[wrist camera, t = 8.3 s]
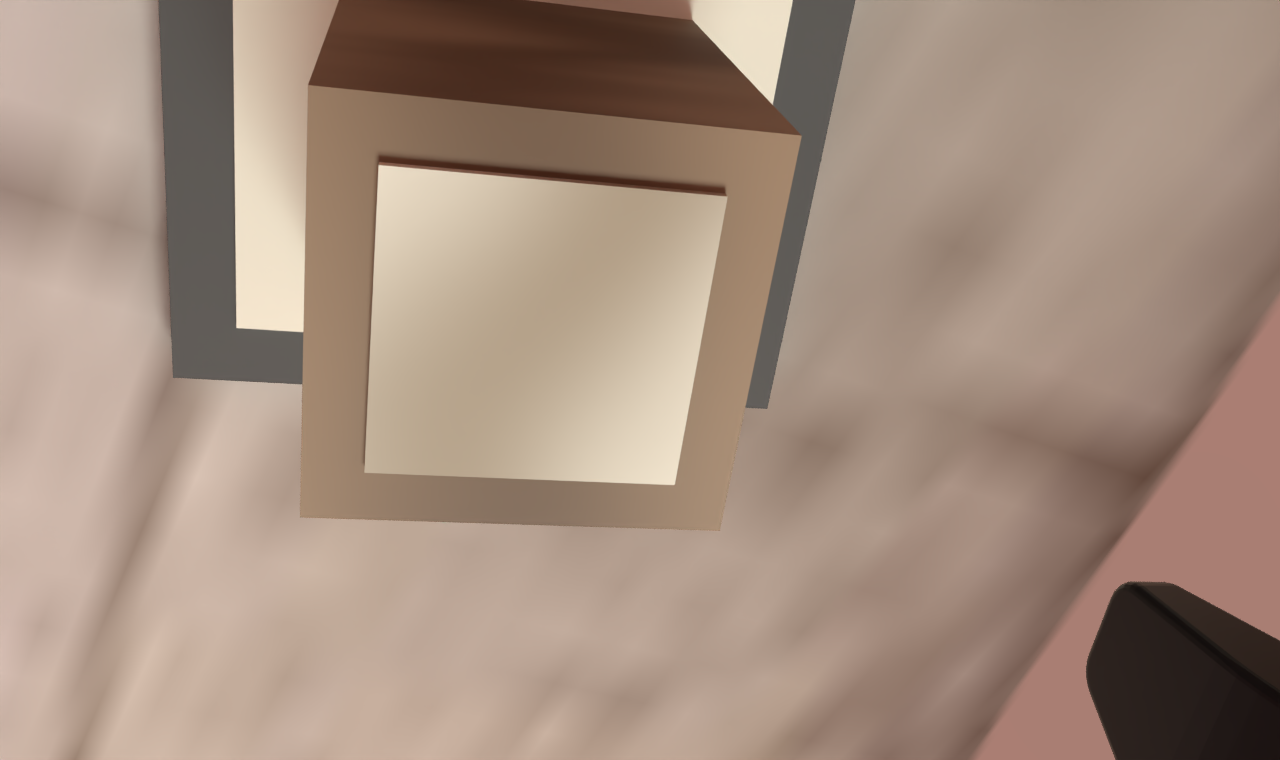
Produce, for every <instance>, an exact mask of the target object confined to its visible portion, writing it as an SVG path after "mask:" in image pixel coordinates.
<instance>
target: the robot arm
mask: <svg viewBox="0 0 1280 760" xmlns="http://www.w3.org/2000/svg"><path fill="white" fill-rule="evenodd" d="M1086 678H1087V684H1088V688H1089V691H1090V694H1091V697H1092V700H1093V702H1094V705H1095V707H1096V710H1097V713H1098V715H1099V718H1100V720H1101V723H1102V726H1103V728H1104V731H1105V733H1106V736H1107V739H1108V741H1109V744H1110V746H1111V749H1112V752H1113V754H1114V757H1115V759H1116V760H1280V641H1279V640H1278V639H1276V638H1274V637H1272V636H1270V635H1268V634H1266V633H1265V632H1262V631H1261V630H1259V629H1257V628H1255V627H1253V626H1251V625H1249V624H1248V623H1246V622H1244V621H1242V620H1240V619H1238V618H1237V617H1235V616H1233V615H1231V614H1229V613H1227V612H1225V611H1223V610H1222V609H1220V608H1218V607H1216V606H1214V605H1212V604H1210V603H1209V602H1207V601H1205V600H1203V599H1201V598H1199V597H1197V596H1195V595H1194V594H1192V593H1190V592H1188V591H1186V590H1184V589H1182V588H1181V587H1179V586H1176V585H1174V584H1171V583H1166V582H1127V583H1124V584H1122V585H1121V586H1119V587H1118V588H1117V589H1116V591H1115V592H1114V593H1113V595H1112V597H1111V600H1110V603H1109V605H1108V607H1107V610H1106V612H1105V615H1104V618H1103V620H1102V623H1101V625H1100V628H1099V630H1098V633H1097V635H1096V638H1095V640H1094V643H1093V646H1092V648H1091V651H1090V653H1089V656H1088V660H1087V666H1086Z"/></svg>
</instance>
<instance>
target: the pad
mask: <svg viewBox="0 0 1280 760" xmlns="http://www.w3.org/2000/svg"><path fill="white" fill-rule="evenodd" d="M338 1H339V0H159V23H160V49H161V75H162V101H163V128H164V154H165V180H166V206H167V232H168V259H169V285H170V311H171V337H172V364H173V378H192V379H211V380H230V381H249V382H268V383H287V384H302V383H303V328H304V273H305V218H306V164H307V109H308V84H309V81H310V78H311V75H312V73H313V70H314V67H315V64H316V62H317V59H318V56H319V53H320V51H321V48H322V45H323V42H324V40H325V37H326V34H327V31H328V29H329V26H330V23H331V20H332V18H333V15H334V12H335V9H336V7H337V4H338ZM530 1H538V2H546V3H555V4H563V5H571V6H579V7H588V8H596V9H604V10H613V11H621V12H629V13H638V14H646V15H654V16H662V17H671V18H679V19H687V20H693V21H694V22H695V23H696V24H697V25H698V26H699V27H700V29H701V30H702V31H703V32H704V33H705V34H706V35H707V36H708V37H709V38H710V39H711V40H712V41H713V42H714V43H715V44H716V45H717V46H718V48H719V49H720V50H721V51H722V52H723V53H724V54H725V55H726V56H727V57H728V58H729V59H730V60H731V61H732V62H733V63H734V64H735V66H736V67H737V68H738V69H739V70H740V71H741V72H742V73H743V74H744V75H745V76H746V77H747V78H748V79H749V80H750V81H751V82H752V84H753V85H754V86H755V87H756V88H757V89H758V90H759V91H760V92H761V93H762V94H763V95H764V96H765V97H766V98H767V99H768V100H769V102H770V103H771V104H772V105H773V106H774V107H775V108H776V109H777V110H778V111H779V112H780V113H781V114H782V115H783V116H784V117H785V118H786V119H787V121H788V122H789V123H790V124H791V125H792V126H793V127H794V128H795V129H796V130H797V131H798V132H799V133H800V134H801V135H802V137H801V142H800V147H799V151H798V156H797V161H796V166H795V171H794V176H793V180H792V185H791V190H790V195H789V200H788V204H787V209H786V214H785V219H784V224H783V228H782V233H781V238H780V243H779V248H778V252H777V257H776V262H775V267H774V272H773V276H772V281H771V286H770V291H769V296H768V301H767V305H766V310H765V315H764V320H763V325H762V329H761V334H760V339H759V344H758V349H757V353H756V358H755V363H754V368H753V373H752V377H751V382H750V387H749V392H748V397H747V401H746V406H745V408H763V409H767V407H768V402H769V398H770V393H771V389H772V384H773V379H774V375H775V370H776V365H777V361H778V356H779V351H780V347H781V342H782V338H783V333H784V328H785V324H786V319H787V314H788V310H789V305H790V301H791V296H792V291H793V287H794V282H795V277H796V273H797V268H798V264H799V259H800V254H801V250H802V245H803V240H804V236H805V231H806V226H807V222H808V217H809V213H810V208H811V203H812V199H813V194H814V189H815V185H816V180H817V176H818V171H819V166H820V162H821V157H822V152H823V148H824V143H825V139H826V134H827V129H828V125H829V120H830V115H831V111H832V106H833V101H834V97H835V92H836V88H837V83H838V78H839V74H840V69H841V64H842V60H843V55H844V51H845V46H846V41H847V37H848V32H849V27H850V23H851V18H852V13H853V9H854V4H855V0H530Z"/></svg>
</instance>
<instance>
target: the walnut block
mask: <svg viewBox="0 0 1280 760" xmlns="http://www.w3.org/2000/svg"><path fill="white" fill-rule="evenodd" d="M801 137H802V135H801V134H800V133H799V132H798V131H797V130H796V129H795V128H794V127H793V126H792V125H791V124H790V123H789V122H788V121H787V119H786V118H785V117H784V116H783V115H782V114H781V113H780V112H779V111H778V110H777V109H776V108H775V107H774V106H773V105H772V104H771V103H770V102H769V100H768V99H767V98H766V97H765V96H764V95H763V94H762V93H761V92H760V91H759V90H758V89H757V88H756V87H755V86H754V85H753V84H752V82H751V81H750V80H749V79H748V78H747V77H746V76H745V75H744V74H743V73H742V72H741V71H740V70H739V69H738V68H737V67H736V66H735V64H734V63H733V62H732V61H731V60H730V59H729V58H728V57H727V56H726V55H725V54H724V53H723V52H722V51H721V50H720V49H719V48H718V46H717V45H716V44H715V43H714V42H713V41H712V40H711V39H710V38H709V37H708V36H707V35H706V34H705V33H704V32H703V31H702V30H701V29H700V27H699V26H698V25H697V24H696V23H695V22H694V21H693V20H687V19H679V18H671V17H662V16H654V15H646V14H638V13H629V12H621V11H613V10H604V9H596V8H588V7H579V6H571V5H563V4H555V3H546V2H538V1H530V0H339V1H338V4H337V7H336V9H335V12H334V15H333V18H332V20H331V23H330V26H329V29H328V31H327V34H326V37H325V40H324V42H323V45H322V48H321V51H320V53H319V56H318V59H317V62H316V64H315V67H314V70H313V73H312V75H311V78H310V81H309V84H308V109H307V164H306V218H305V273H304V328H303V383H302V437H301V492H300V517H304V518H335V519H367V520H398V521H429V522H460V523H491V524H522V525H554V526H585V527H616V528H647V529H678V530H709V531H720V526H721V522H722V517H723V512H724V507H725V502H726V498H727V493H728V488H729V483H730V478H731V474H732V469H733V464H734V459H735V454H736V450H737V445H738V440H739V435H740V430H741V426H742V421H743V416H744V411H745V406H746V401H747V397H748V392H749V387H750V382H751V377H752V373H753V368H754V363H755V358H756V353H757V349H758V344H759V339H760V334H761V329H762V325H763V320H764V315H765V310H766V305H767V301H768V296H769V291H770V286H771V281H772V276H773V272H774V267H775V262H776V257H777V252H778V248H779V243H780V238H781V233H782V228H783V224H784V219H785V214H786V209H787V204H788V200H789V195H790V190H791V185H792V180H793V176H794V171H795V166H796V161H797V156H798V151H799V147H800V142H801Z"/></svg>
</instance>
